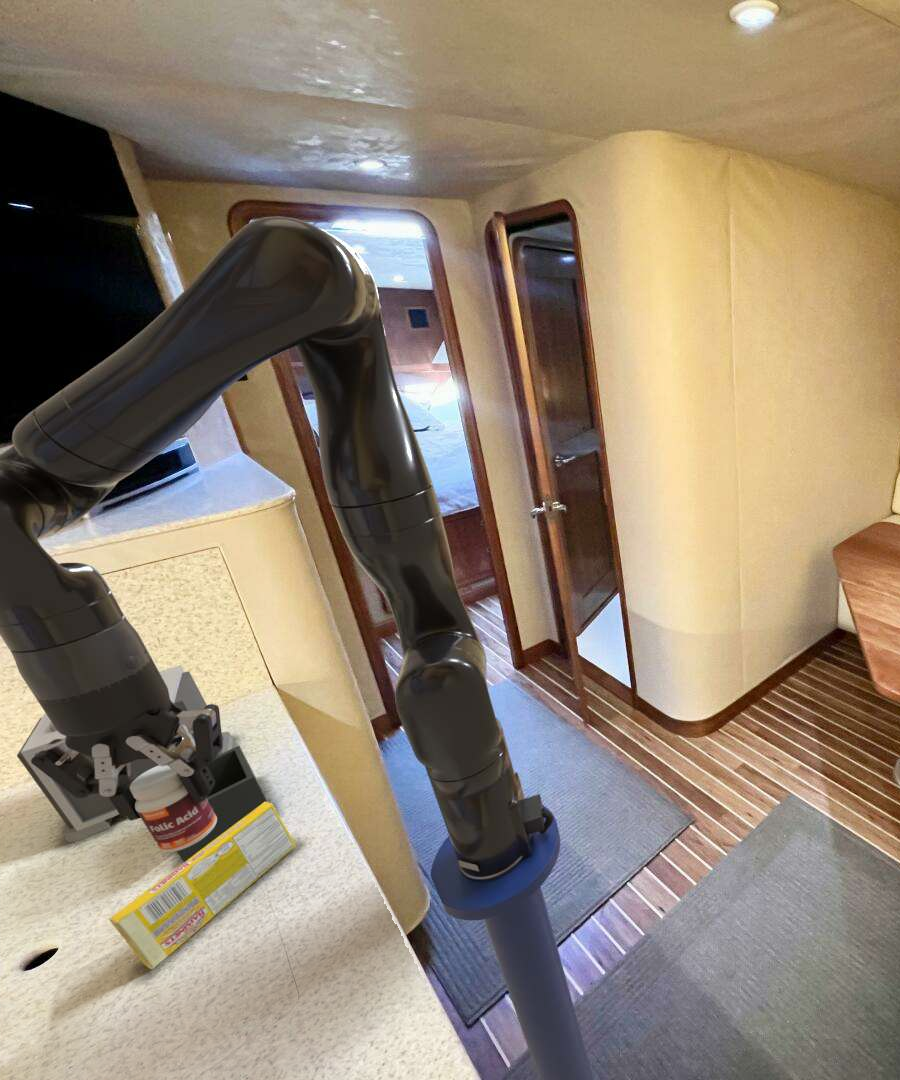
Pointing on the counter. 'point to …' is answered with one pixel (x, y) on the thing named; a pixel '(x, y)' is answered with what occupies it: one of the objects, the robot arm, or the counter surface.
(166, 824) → the pill bottle
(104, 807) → the crt monitor
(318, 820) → the counter surface
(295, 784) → the counter surface
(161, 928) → the candy box
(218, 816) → the open storage box
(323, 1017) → the counter surface
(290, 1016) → the counter surface
